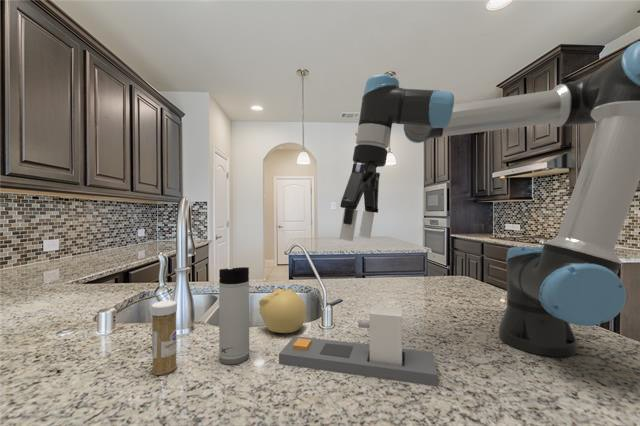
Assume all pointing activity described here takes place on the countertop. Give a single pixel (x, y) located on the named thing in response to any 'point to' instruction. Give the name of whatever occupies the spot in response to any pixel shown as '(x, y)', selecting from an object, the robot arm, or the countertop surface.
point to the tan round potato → (282, 311)
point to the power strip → (358, 360)
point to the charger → (385, 335)
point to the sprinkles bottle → (164, 337)
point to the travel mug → (233, 315)
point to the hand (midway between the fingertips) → (356, 238)
